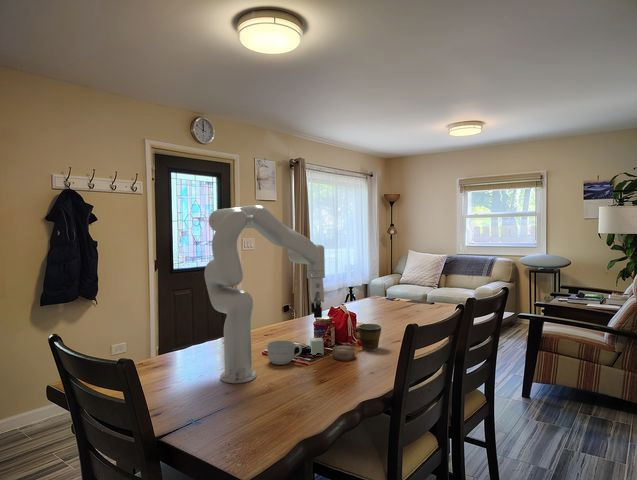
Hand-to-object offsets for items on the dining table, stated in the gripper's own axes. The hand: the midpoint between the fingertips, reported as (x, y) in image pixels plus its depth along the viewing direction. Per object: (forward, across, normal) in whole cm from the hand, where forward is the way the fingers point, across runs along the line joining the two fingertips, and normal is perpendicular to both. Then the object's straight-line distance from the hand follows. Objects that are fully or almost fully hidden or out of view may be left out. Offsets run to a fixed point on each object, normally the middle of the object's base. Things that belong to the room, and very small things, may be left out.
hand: (316, 315), depth 176 cm
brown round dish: (+16, -7, -10) cm, 20 cm away
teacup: (+16, -10, +14) cm, 24 cm away
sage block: (+16, 0, 0) cm, 16 cm away
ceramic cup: (+16, +2, -22) cm, 27 cm away
